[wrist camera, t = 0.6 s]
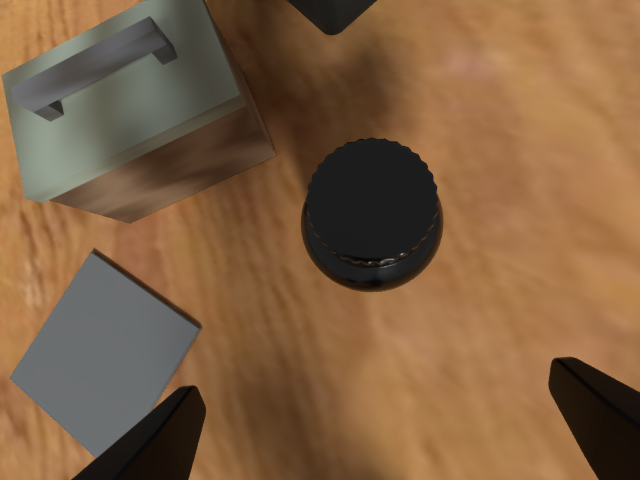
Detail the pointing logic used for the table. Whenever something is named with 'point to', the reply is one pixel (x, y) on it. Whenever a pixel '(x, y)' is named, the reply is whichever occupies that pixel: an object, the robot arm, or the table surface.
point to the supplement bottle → (372, 216)
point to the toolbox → (134, 113)
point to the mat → (104, 355)
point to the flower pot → (332, 12)
